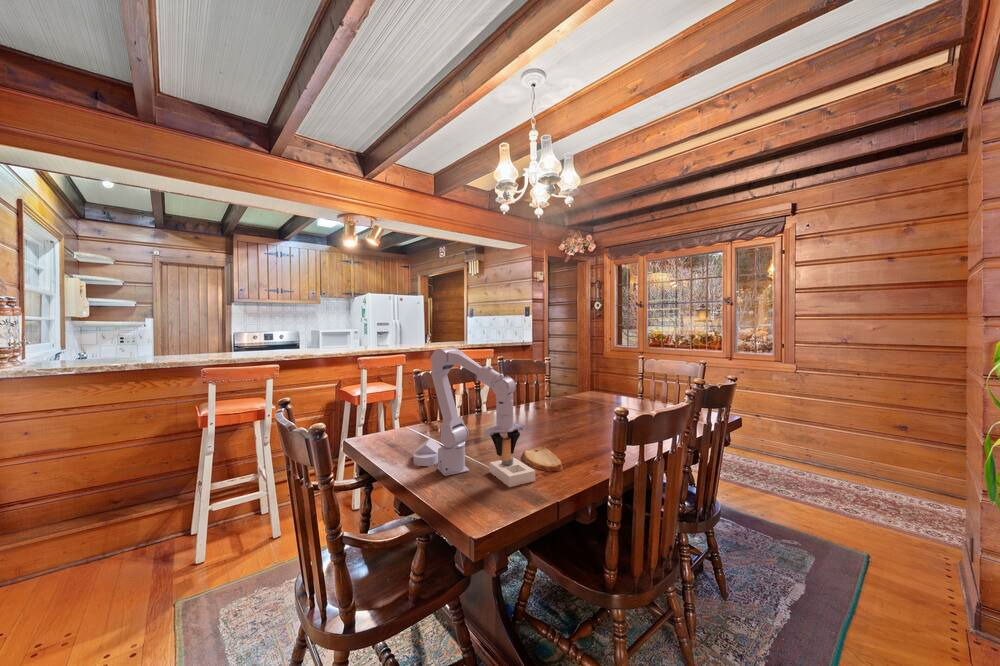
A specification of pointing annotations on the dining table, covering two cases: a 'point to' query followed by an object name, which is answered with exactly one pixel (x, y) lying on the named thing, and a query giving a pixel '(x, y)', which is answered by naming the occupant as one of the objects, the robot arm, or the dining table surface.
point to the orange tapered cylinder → (506, 449)
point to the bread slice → (542, 459)
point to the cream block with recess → (512, 472)
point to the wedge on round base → (427, 453)
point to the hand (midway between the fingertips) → (505, 453)
